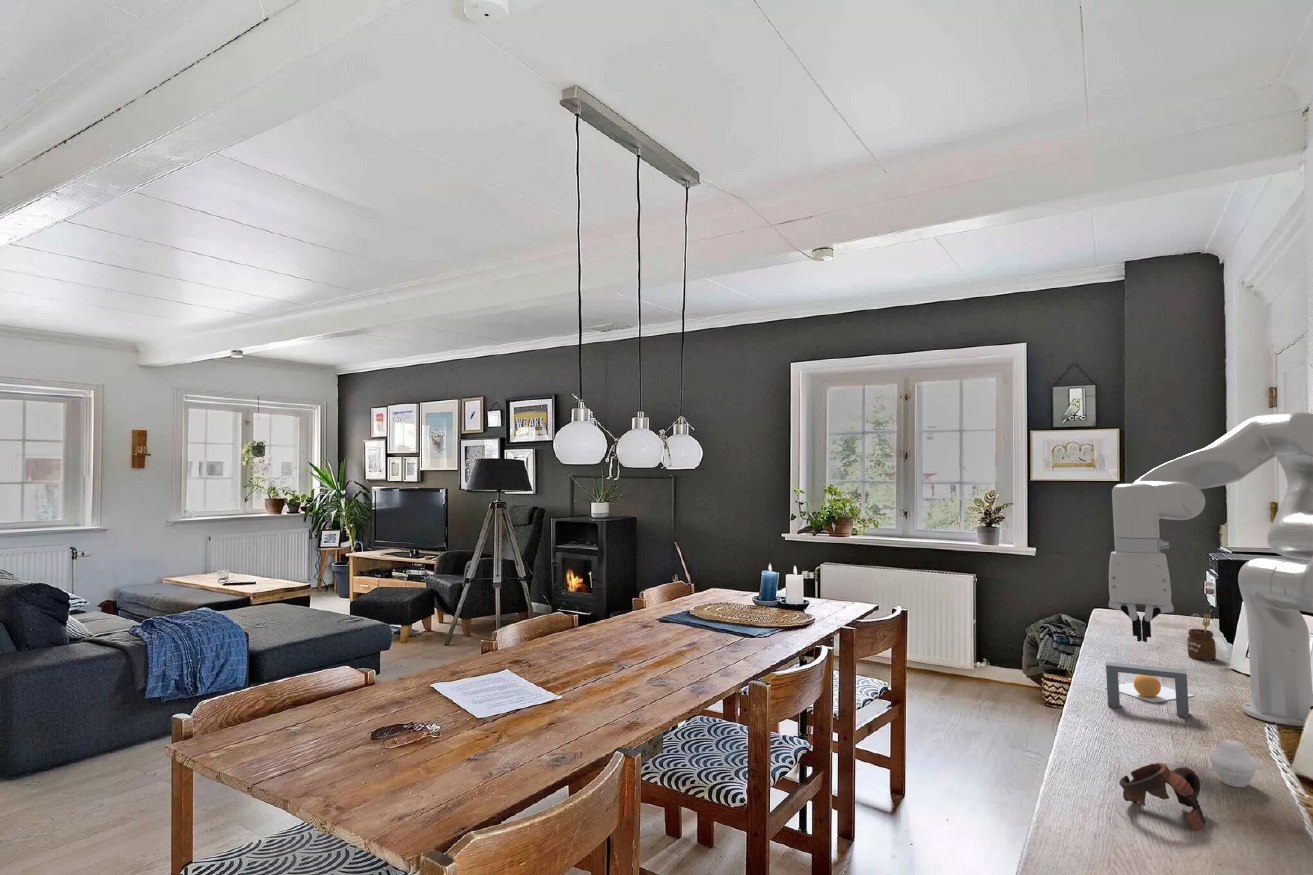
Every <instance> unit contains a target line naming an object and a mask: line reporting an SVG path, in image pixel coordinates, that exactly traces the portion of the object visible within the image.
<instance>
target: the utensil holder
mask: <svg viewBox="0 0 1313 875" xmlns="http://www.w3.org/2000/svg"><path fill="white" fill-rule="evenodd" d="M1195 615H1196V616H1195ZM1195 617H1196V618H1197V620H1199V618H1200V622H1198V623H1197V624H1198V628H1197V626H1196V622H1194V624H1193V621H1192V620H1195ZM1192 618H1193V619H1192ZM1202 619H1203V620H1202ZM1190 623H1191V625H1192V627H1193V628H1190V629H1188V635H1189V636H1187V645H1186V646H1187V654H1188V657H1189V658H1191V659H1195V660H1198V659H1203V660H1202V661H1213V660H1212V659H1215V660H1216V658H1217V649H1216V641H1215V639H1214V632H1213V631H1211V630H1208V629H1207V628H1208V626H1210V623H1211V613H1209V614H1205V613H1204V614H1203V618H1202V617H1199V614H1198V613H1195V614H1192V616H1190ZM1200 623H1201V624H1200ZM1194 626H1195V627H1194ZM1203 626H1204V629H1203V628H1201V627H1203Z"/></svg>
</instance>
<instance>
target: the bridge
mask: <svg viewBox="0 0 1313 875" xmlns="http://www.w3.org/2000/svg"><path fill="white" fill-rule="evenodd" d="M1105 672H1106V673H1105V674H1106V686H1107V688H1106V691H1107V692H1106V693H1107V706H1108V707H1109V706H1112V707H1111V708H1116V709H1117V708H1120V706H1119V705H1121V704H1120V702H1121V701H1120V692H1119V681H1120V680H1119V673H1124V674H1132V675H1148V676H1154V677H1156V678H1157V677H1159V678H1167V679H1174V685H1175V686H1174V687H1175V689H1174V690H1176V699H1175V706H1176V716H1177V717H1184V718H1190V711H1189V709H1190V708H1189V697H1188V694H1189V692H1188V691H1189V689H1188V674H1187V670H1184V669H1177V668H1168V667H1159V666H1158V667H1157V666H1150V665H1149V666H1148V665H1140V664H1139V665H1138V664H1130V663H1123V662H1112V661H1111V662H1110V661H1106V664H1105Z"/></svg>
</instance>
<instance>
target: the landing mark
mask: <svg viewBox="0 0 1313 875" xmlns="http://www.w3.org/2000/svg"><path fill="white" fill-rule="evenodd" d="M1104 687H1105V689H1107V685H1105V686H1104ZM1120 693H1121V694H1123V695H1127V696H1129V697H1134V698H1137V699H1138V700H1139V699H1140V700H1143V701H1146V702H1149V703H1153V704H1157V703H1161V702H1162V703H1163V702H1168V701H1173V700H1175V701H1176V690H1175V689H1172V688H1170V687H1166V686H1162V685H1161V690H1160V692H1159V694H1158V695H1156V696H1154V697H1145V696H1142V695H1141V694H1139V693H1138V692H1137V691H1136V689H1135V687H1134V681H1132V682H1125V683H1121V684H1119V694H1120ZM1193 697H1195V695H1194V694H1190V693H1188V698H1193Z"/></svg>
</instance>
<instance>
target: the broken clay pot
mask: <svg viewBox="0 0 1313 875" xmlns="http://www.w3.org/2000/svg"><path fill="white" fill-rule="evenodd" d="M1130 775H1131V776H1132V780H1130V777H1129V776H1128V775H1124V776H1123V777H1122V778H1120V780H1119V786H1120V787H1121V788H1122V789H1123V792H1122V798H1123V800H1124V801H1126V802H1132V804H1138V803H1139V804H1141V805H1143V806H1146V796H1147V795H1146V794H1147V793H1148V794H1150V795H1151V796H1153V797H1157V798H1159V799H1162V800H1169V799H1170V796H1169V794H1168V793H1167V786H1166V785H1169V786H1170V787H1171V788H1172V789H1173V792H1174V794H1175V795H1176V799H1177V801H1178V803H1179V804H1180V805H1184V806H1186V807H1189V808H1192V809H1191V811H1189V813H1187V814H1186V815H1184V818H1185V820H1186V821H1187V822H1188V823H1189V826H1190V829H1191V831H1193V832H1196V831H1199V830H1200V829H1202V827H1204V825H1206V823H1207V820H1206V817H1205V816H1204V815H1205V814H1204V813H1203V810H1202V808H1201V805H1200V802H1199V800H1198V797H1199V795H1200V792H1201V781H1200V777H1199V776H1198V774H1197V773H1196V772H1195V771H1193V769H1191V768H1189V767H1185V766H1181V767H1177V768H1175V769H1172V770H1170V769H1169V767H1168V765H1167V764H1166V763H1161V762H1156V763H1150V764H1147V765H1144V766H1141V767H1139V768H1137V769H1135V770H1133V771H1131V772H1130Z"/></svg>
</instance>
